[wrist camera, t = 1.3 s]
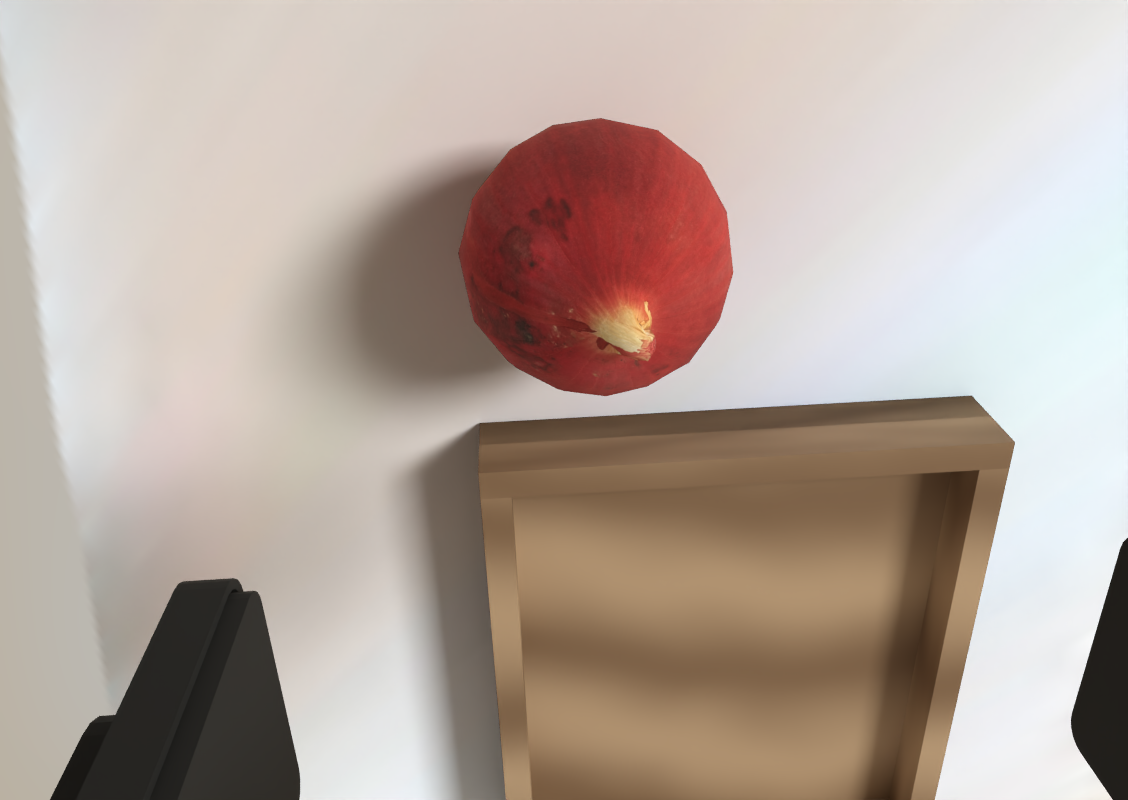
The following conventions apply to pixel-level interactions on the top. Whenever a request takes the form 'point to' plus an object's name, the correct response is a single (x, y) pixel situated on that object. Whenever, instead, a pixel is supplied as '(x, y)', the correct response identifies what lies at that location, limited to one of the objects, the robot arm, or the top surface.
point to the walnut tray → (736, 597)
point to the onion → (597, 256)
